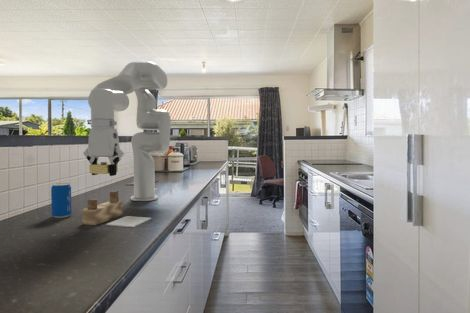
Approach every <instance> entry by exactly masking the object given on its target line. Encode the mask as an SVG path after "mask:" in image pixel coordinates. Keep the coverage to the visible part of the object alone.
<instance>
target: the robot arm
mask: <svg viewBox="0 0 470 313" xmlns="http://www.w3.org/2000/svg"><path fill="white" fill-rule="evenodd" d="M167 86H168V75H167V74H166V71H164V70H163V69H162V68H161V67H160V66H159V65H158V64H157V63H155V62H153V61H132V62H128V63H127V64H126V65H125V66H124V67H123V69H122V70H121V71H120V72H119V73H118V74H117V75H116V76H113V77H111V78H109V79H107V80H104V81H101V82H100V83H98V84H96V85H95V87H93V89H91V91H90V93H89V95H88V98H87V102H88V105H89V108H90V122H91V123H90V124H91V128H90V129H89V132H88V142H87V143H88V144H87V145H88V146H87V148H86V150H84V151H83V155H84V156H85V158H86V160H87V161H88V162H89V165H91V164H98V161H99V158H100V157H101V158H108V160H109V163H111V165H109V171H110V173H109V176H110V177H113V176H117V164H119V162H120V161H121V159H122V158H123V157H124V156H125V153H124V152H123V150H122V149H120V138H119V133H118V129H117V128H115V126H117V124H118V123H117V120H115V112H123V111H125V110H127V109H128V108H129V105H130V98H129V96H128V95H129V94H132V93H133V92H134V93H135V96H136V98H137V106H136V126H137V128H138V129H140V130H144V131H140V132H136V133H134V134H133V135H132V137H131V142H130V143H131V148H132V155H133V156H132V157H133V195H132V196H130V200H131V201H135V202H150V201H155V200H158V199H159V195H157V194H156V193H157V192H158V190H159V189H158V188H155V187H156V186H155V185H156V178H155V176H156V175H155V172H156V170H155V168H156V167H155V164H156V163H155V159H154V158H153V156H152V155H151V153H159V154H161V153H162V154H163V153H166V152H168V151H169V149H170V144H171V143H170V142H171V128H172V126H171V125H172V124H171V123H172V121H171V120H172V119H171V114H170V113H169V112H168V110H166V109H157V108H156V107H157V100H156V97H155V96H154V95H153V94H152V92H151V91H152V90H164V89H165V88H166V87H167ZM150 90H151V91H150ZM145 130H146V131H145ZM151 131H153V132H151ZM154 131H158V132H154ZM96 175H98V174H94V173H91V176H96Z"/></svg>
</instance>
